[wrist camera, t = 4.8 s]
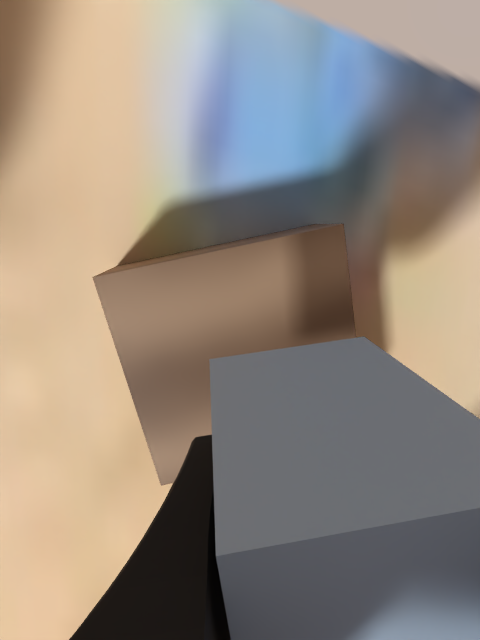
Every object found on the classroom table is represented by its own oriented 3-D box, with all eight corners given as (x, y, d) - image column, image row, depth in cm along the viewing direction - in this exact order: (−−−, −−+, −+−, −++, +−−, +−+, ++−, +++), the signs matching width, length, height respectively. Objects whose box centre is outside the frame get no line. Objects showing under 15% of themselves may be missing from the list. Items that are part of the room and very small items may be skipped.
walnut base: (335, 395, 20) (366, 436, 16) (169, 434, 20) (161, 485, 16) (312, 224, 17) (343, 223, 13) (118, 265, 17) (92, 277, 13)
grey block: (365, 465, 11) (531, 715, 6) (229, 488, 11) (255, 777, 5) (364, 336, 10) (577, 488, 4) (209, 359, 10) (216, 556, 4)
